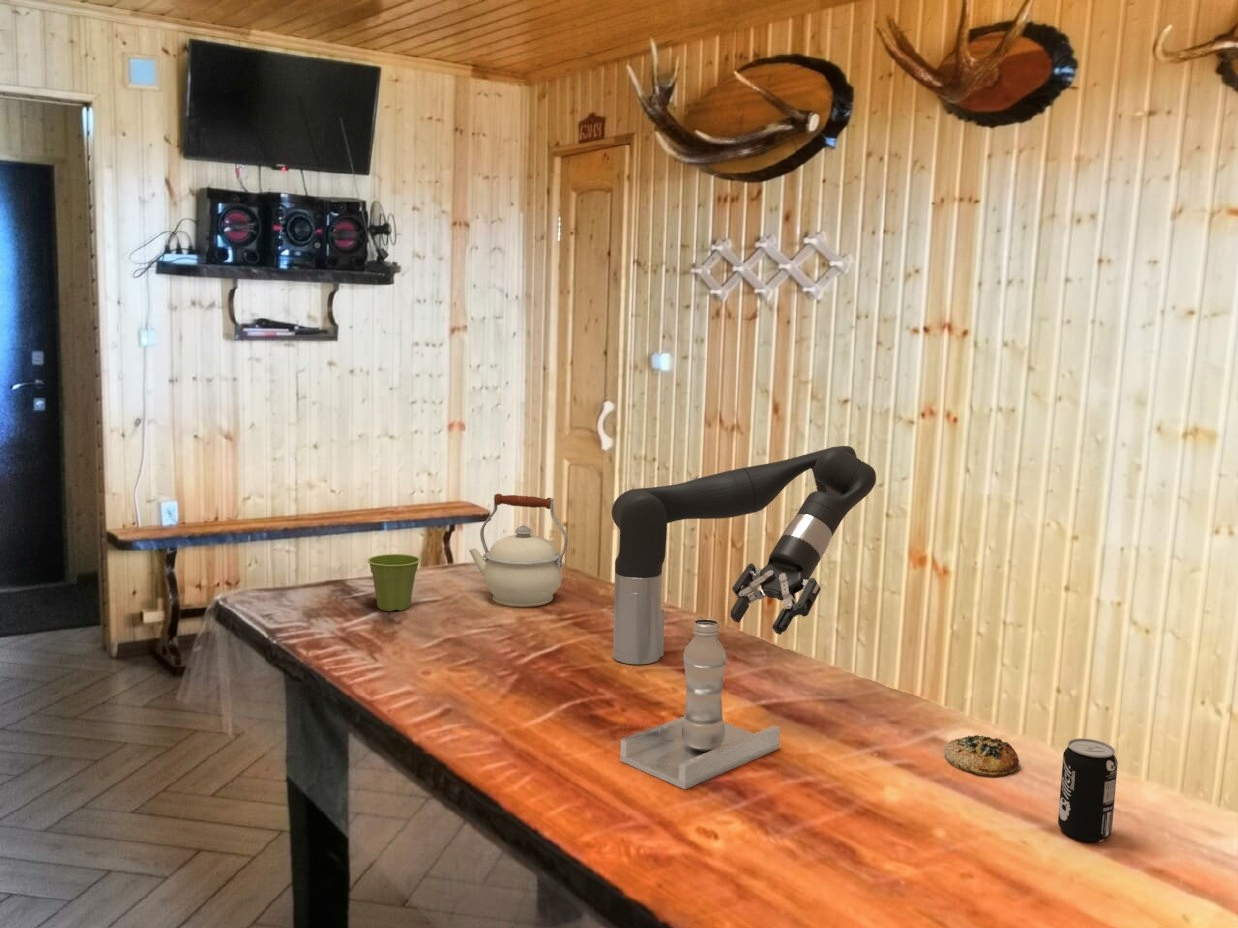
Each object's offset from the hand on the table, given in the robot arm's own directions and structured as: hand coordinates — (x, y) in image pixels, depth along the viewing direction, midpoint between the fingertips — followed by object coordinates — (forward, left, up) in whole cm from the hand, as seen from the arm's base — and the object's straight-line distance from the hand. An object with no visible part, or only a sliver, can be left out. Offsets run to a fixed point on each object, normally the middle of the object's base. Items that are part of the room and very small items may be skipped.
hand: (754, 625), depth 174 cm
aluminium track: (+14, +1, -18) cm, 22 cm away
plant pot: (+4, -101, -18) cm, 102 cm away
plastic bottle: (+13, +1, -17) cm, 21 cm away
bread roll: (-16, +32, -18) cm, 40 cm away
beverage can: (-5, +52, -18) cm, 55 cm away
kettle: (-22, -89, -18) cm, 93 cm away
